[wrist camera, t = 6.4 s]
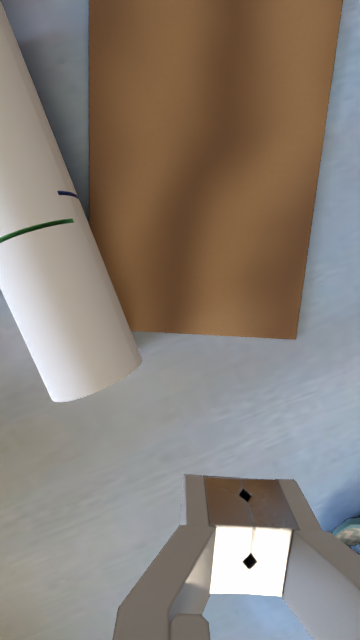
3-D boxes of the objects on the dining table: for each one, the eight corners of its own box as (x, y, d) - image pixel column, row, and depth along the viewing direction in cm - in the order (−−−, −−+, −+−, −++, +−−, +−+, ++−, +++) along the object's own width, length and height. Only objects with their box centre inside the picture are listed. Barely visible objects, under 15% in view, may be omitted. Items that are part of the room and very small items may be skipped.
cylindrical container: (155, 349, 26) (28, 18, 21) (113, 392, 19) (-83, -74, 15) (87, 366, 28) (-38, 75, 24) (30, 409, 22) (-158, 18, 17)
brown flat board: (90, 327, 27) (89, 328, 27) (90, -85, 21) (88, -91, 21) (294, 338, 27) (295, 339, 27) (349, -63, 21) (352, -69, 21)
